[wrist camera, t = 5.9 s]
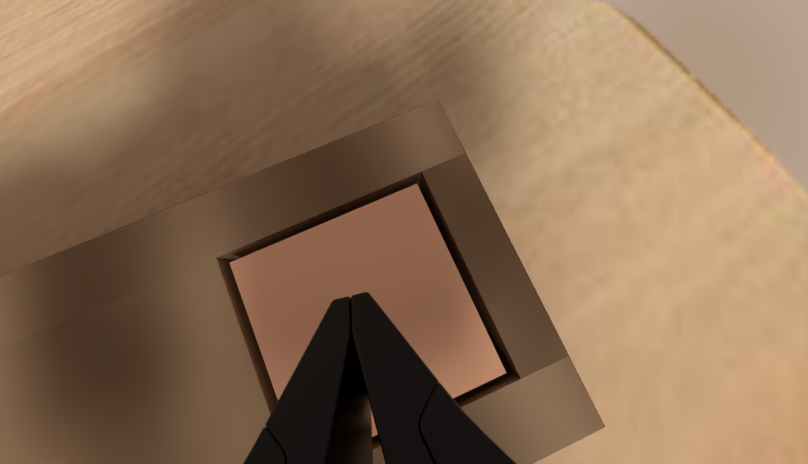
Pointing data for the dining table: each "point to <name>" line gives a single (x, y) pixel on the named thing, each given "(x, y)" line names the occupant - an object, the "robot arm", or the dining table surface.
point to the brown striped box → (229, 323)
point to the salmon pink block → (369, 290)
